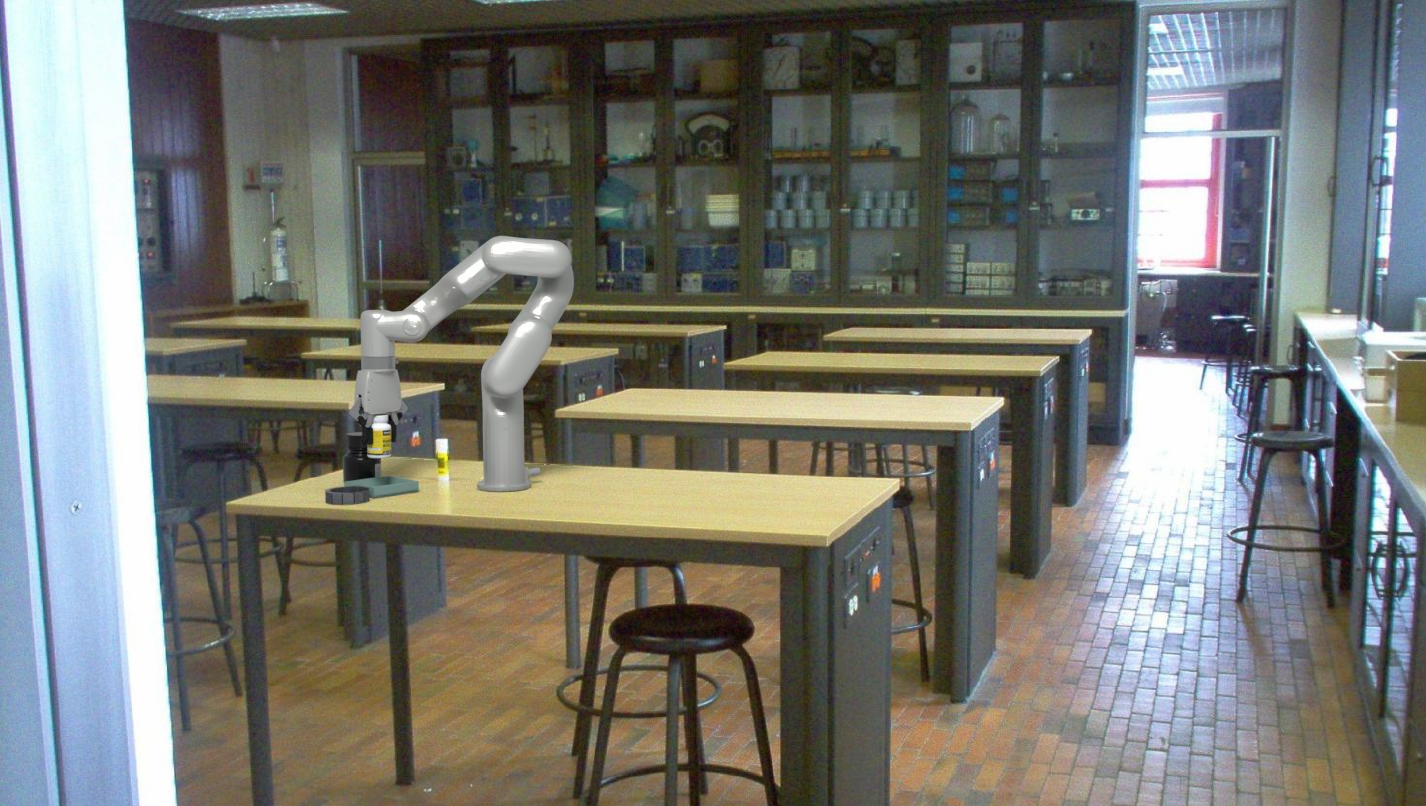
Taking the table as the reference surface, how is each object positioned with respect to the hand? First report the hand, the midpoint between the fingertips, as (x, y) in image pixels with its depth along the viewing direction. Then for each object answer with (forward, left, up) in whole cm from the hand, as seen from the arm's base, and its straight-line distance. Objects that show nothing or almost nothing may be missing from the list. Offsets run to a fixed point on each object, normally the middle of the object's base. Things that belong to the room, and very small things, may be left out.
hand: (379, 442), depth 303 cm
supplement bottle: (0, 0, -4) cm, 4 cm away
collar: (+11, +4, -12) cm, 17 cm away
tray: (0, 0, -12) cm, 12 cm away
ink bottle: (-4, -14, -12) cm, 19 cm away
